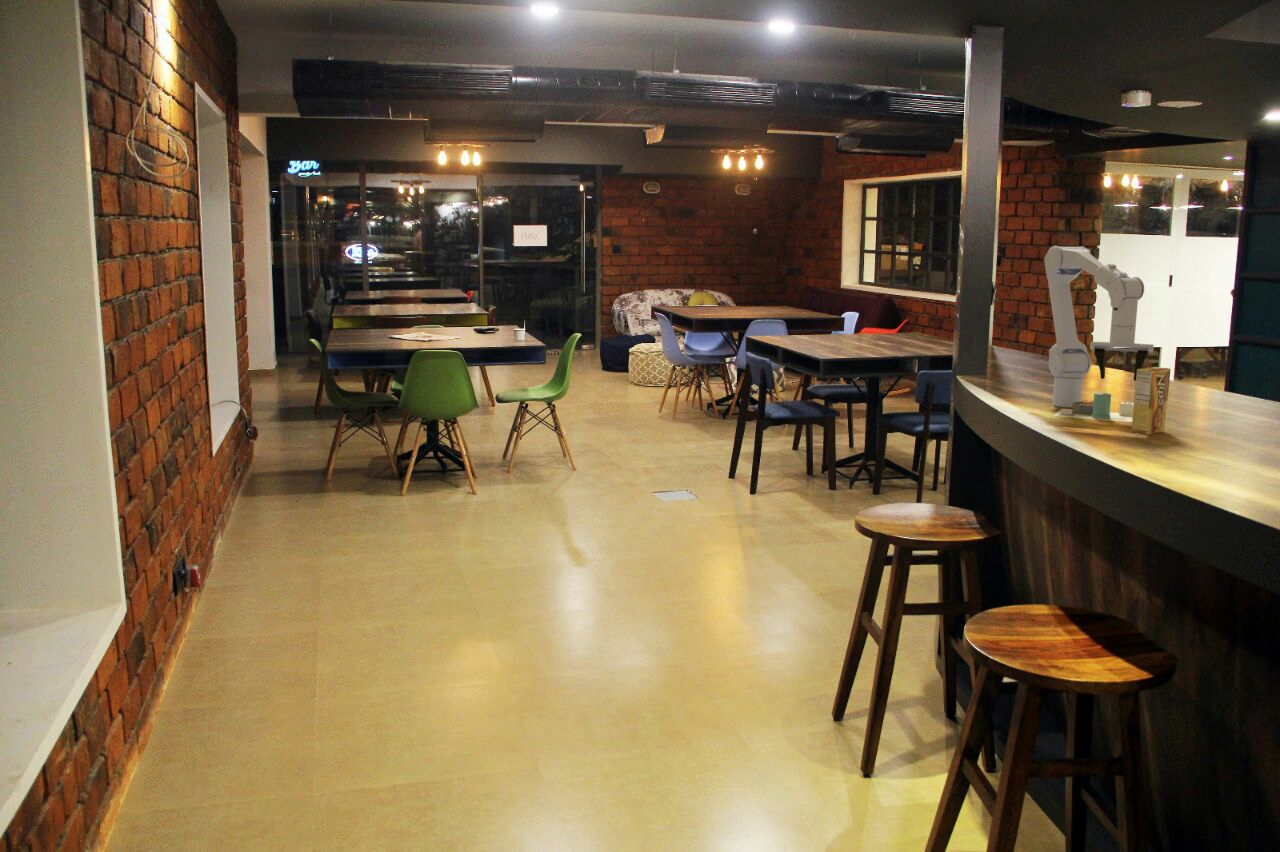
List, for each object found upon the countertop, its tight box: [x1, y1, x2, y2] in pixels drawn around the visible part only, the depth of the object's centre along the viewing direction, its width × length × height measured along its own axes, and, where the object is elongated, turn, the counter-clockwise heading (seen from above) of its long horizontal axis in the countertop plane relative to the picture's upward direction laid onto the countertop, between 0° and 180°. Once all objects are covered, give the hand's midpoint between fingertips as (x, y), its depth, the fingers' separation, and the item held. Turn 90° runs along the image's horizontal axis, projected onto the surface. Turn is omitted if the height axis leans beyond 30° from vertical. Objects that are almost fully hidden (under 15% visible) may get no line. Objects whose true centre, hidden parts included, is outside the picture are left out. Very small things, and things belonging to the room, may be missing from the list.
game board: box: [1052, 401, 1134, 423], centre depth 276 cm, size 15×22×4 cm
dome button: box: [1081, 399, 1094, 406], centre depth 280 cm, size 6×6×2 cm
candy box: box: [1131, 366, 1172, 436], centre depth 255 cm, size 9×4×15 cm, turn 129°
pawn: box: [1091, 392, 1112, 420], centre depth 272 cm, size 4×4×6 cm
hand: (1118, 379), depth 274 cm, fingers open, 7 cm apart
